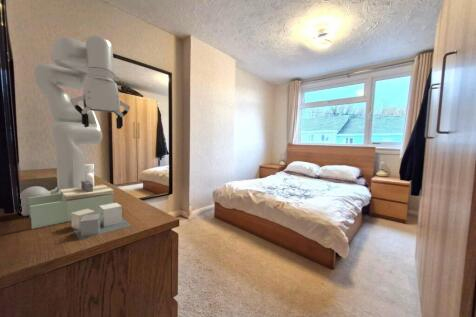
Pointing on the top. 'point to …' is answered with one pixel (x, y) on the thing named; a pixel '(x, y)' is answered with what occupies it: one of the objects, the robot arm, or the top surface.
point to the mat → (104, 229)
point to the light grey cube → (90, 225)
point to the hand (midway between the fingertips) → (103, 127)
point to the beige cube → (79, 217)
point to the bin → (62, 208)
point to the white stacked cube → (110, 214)
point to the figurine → (90, 172)
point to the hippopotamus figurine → (34, 192)
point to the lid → (85, 190)
